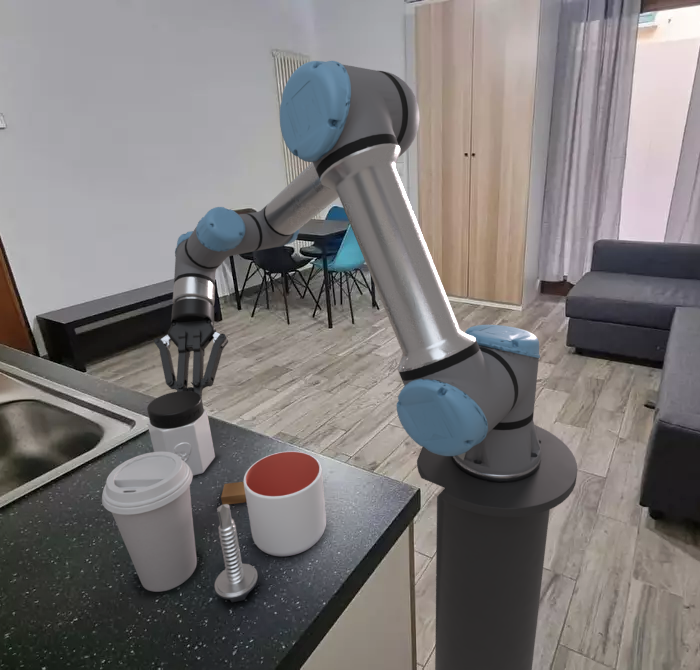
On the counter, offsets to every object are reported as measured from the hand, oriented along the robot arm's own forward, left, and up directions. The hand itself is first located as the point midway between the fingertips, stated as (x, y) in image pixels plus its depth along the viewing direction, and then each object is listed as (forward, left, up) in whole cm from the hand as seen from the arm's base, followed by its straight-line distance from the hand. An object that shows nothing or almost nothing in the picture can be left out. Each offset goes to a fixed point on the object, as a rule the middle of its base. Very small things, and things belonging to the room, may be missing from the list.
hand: (187, 425), depth 85 cm
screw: (-12, +33, -5) cm, 36 cm away
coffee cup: (-3, +28, -5) cm, 28 cm away
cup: (-18, +24, -5) cm, 31 cm away
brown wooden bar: (-14, +15, -5) cm, 21 cm away
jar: (0, +4, -5) cm, 7 cm away
